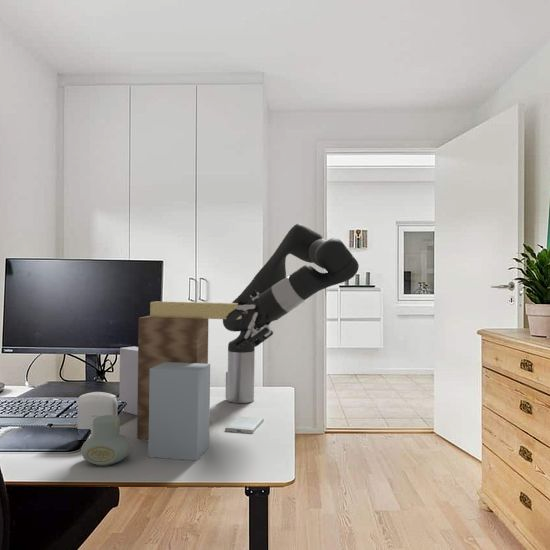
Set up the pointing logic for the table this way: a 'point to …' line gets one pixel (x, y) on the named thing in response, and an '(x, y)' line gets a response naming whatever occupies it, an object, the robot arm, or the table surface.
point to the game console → (129, 378)
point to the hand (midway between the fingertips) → (231, 332)
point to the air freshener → (106, 442)
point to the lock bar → (191, 310)
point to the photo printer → (94, 408)
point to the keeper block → (179, 410)
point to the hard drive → (244, 424)
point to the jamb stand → (166, 354)
